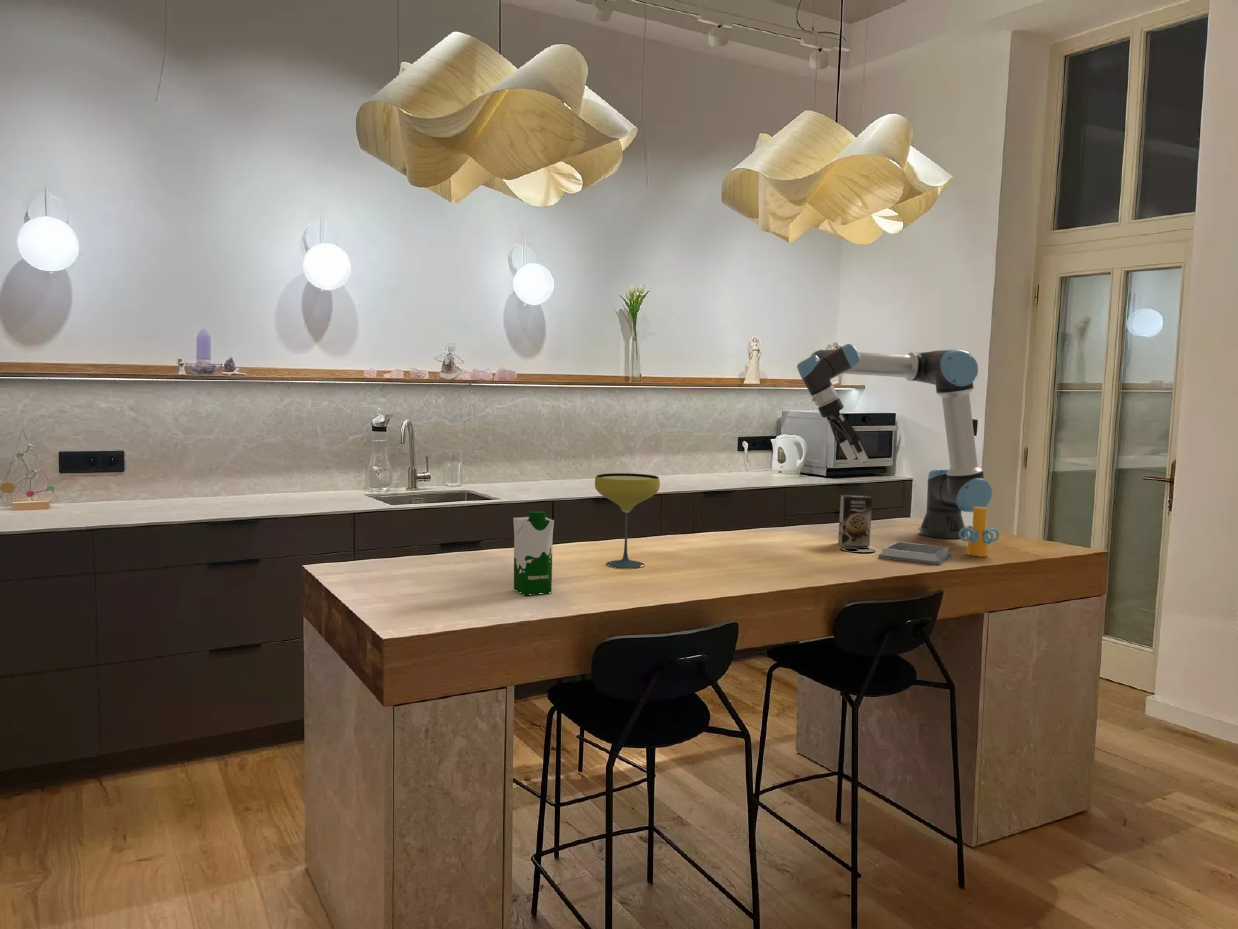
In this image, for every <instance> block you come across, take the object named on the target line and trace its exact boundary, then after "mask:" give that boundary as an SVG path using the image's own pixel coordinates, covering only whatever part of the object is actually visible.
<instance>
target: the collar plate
mask: <svg viewBox="0 0 1238 929" xmlns="http://www.w3.org/2000/svg"><path fill="white" fill-rule="evenodd" d="M948 552H949V547H948V546H943V545H942V546H941V545H930V544H922V543H914V542H905V541H904V542H903V541H895V542H893V543H891V544H889V545H887V546H885V547H883V548H882V552H881V553H879V554H878V556H877V557H879V558H878V559H883V558H890V559H889V560H891V559H896V560H895V561H899V560H900V561H901V562H908V561H911V562H910V563H916V562H918V563H917V564H924V563H925V564H926V565H934V566H941V565H943V564H944V563H945V562H946V561H948V560H950V559H952V553H948ZM949 558H950V559H949ZM900 561H899V562H900ZM944 561H945V562H944ZM943 562H944V563H943Z"/></svg>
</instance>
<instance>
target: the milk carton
mask: <svg viewBox="0 0 1238 929" xmlns="http://www.w3.org/2000/svg"><path fill="white" fill-rule="evenodd" d="M546 515H547V512H546V511H544V510H529V511H528V516H524V517H522V516H521V517H512V518H513V521H512V522H513V534H514V535H513V537H514V540H513V546H514V547H513V548H514V549H513V590H514V589H515V590H517V591H518V592H521V593H522V594H524V595H529V594H539V593H549V592H551V593H552V587H553V586H552V584H553V581H552V579H553V538H554V537H553V533H554V532H553V531H554V525H555V520H554V519H551V518H548V517H546ZM515 590H514V591H515ZM517 591H516V592H517ZM518 592H517V593H518ZM522 594H521V595H522ZM524 595H523V596H524Z"/></svg>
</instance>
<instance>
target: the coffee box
mask: <svg viewBox="0 0 1238 929" xmlns="http://www.w3.org/2000/svg"><path fill="white" fill-rule="evenodd" d="M872 506H873V497H871V496H869V495H859V494H858V495H853V494H852V495H851V494H840V506H839V520H838V522H839V523H838V538H837V539H838V541H837V543H838V544H839V545H840V544H841V545H842V547H855V546H869V547H870V543H871V542H870V541H871V525H872V524H871V523H872ZM841 545H840V546H841Z"/></svg>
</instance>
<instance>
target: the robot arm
mask: <svg viewBox="0 0 1238 929" xmlns="http://www.w3.org/2000/svg"><path fill="white" fill-rule="evenodd" d="M796 368H797V371H798V374H799V375H800V378H801V380H802V381H803V383H804V385H805V387H806V388H807V390H808V392H809V394H810V396H811V402H814V403H815V406H817V407H818V412H819V414H820V415H821V417H822V418H823V419H825V418H826V420H827V421H828V423H829V426H830V429H831V431H832V434H833V436H834V440H835V441H836V442H837V443H838V444H839V446H840V448H841V449H842V452H843V453H844V456H845V457H846V459H847V461H848V462H851V461H852V460H854V459H856V458H857V459H858V462H859V463H860V464H863V463H865V462H866V461H869V457H868V456H867V453H866V452H865V449H864V448H863V446H862V443H861V442H860V440H861V438H860V436H859V435H858V433H857V431H856V430H855V428H853V426H852V425H851V423H850V422H849V420H848V418H847V416H846V414H845V413H844V412H843V413H841V412H840V411H842V410H843V408H844V404H843V402H842V400H841V399H840V398H839V397H838V396H839V394H838V392H837V390H836V389H835V387H834V385H833V382H832V381H831V380H832V379H834V378H836V377H838V376H840V375H841V374H842V375H843V374H844V375H845V374H846V375H861V376H873V377H874V376H877V377H878V376H879V377H892V378H893V377H894V378H895V377H896V378H904V379H906V380H907V381H909V382H910V381H911V382H920V383H925V384H930V385H935V391H936V394H937V395H938V396H940V398H941V399H942V400H941V401H942V408H943V417H944V426H945V433H946V441H947V444H946V445H947V450H948V459H949V469H932V470H930V471H929V473H928V477H927V492H926V493H927V494H926V495H927V496H926V510H925V512H926V513H925V515H924V517H923V519H922V522H921V524H920V527H919V534H920V535H922V536H925V537H933V538H939V539H960V537H959V531H960V530H961V529H962V528H965V524H964V523H965V522H964V519H963V515H962V512H966V513H973V509H974V507H986V508H987V506H988V505H989V504H990V502H991V500H992V497H993V489H992V486H991V484H990V482H988V480H986V479H985V476H984V474H985V473H984V469H983V468H981V466H979V465H978V458H977V457H978V456H977V449H976V441H975V431H974V425H973V422H974V421H973V414H972V406H971V397H970V396H971V395H970V393H971V392H972V391H973V390H974V381H975V380H976V378H977V376H978V374H979V364H978V362H977V360H976V357H974V355H972V353H970V352H968V351H966V350H961V349H957V348H956V349H943V350H933V351H927V352H909V353H908V354H896V353H895V354H891V353H881V352H880V353H878V352H862V351H858V350H857V348H856V347H855V346H854V345H853V344H851V343H847V344H844V345H842V346H839V348H836V349H819V350H816V351H814V352H812V353H811V355H810V356H809V357H807V358H805V359H803V360H801V361H800V362H798V364H797V366H796ZM961 535H962V537H963V538H966V534H965V530H964V531H962V533H961Z"/></svg>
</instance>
